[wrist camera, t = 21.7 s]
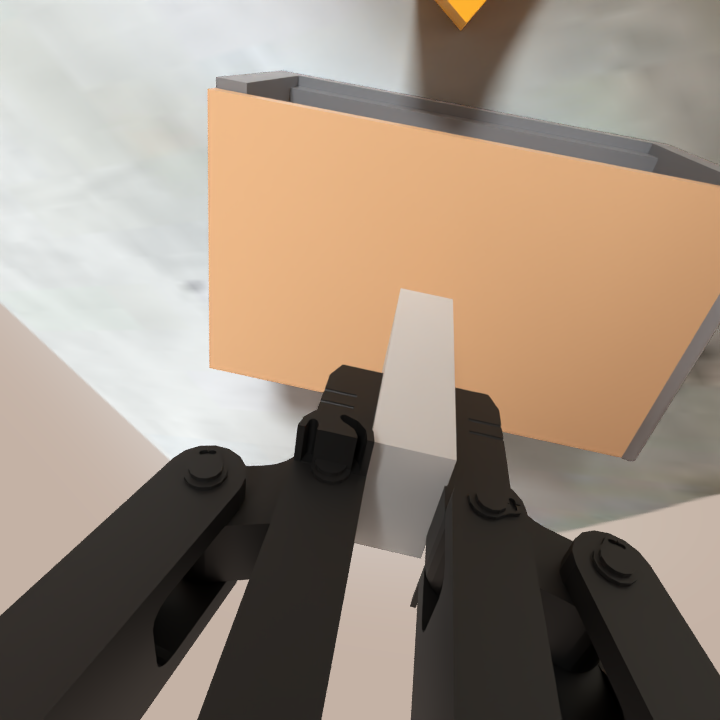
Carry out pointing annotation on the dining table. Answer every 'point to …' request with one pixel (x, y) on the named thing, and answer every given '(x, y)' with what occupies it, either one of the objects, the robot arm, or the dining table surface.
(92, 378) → the dining table surface
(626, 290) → the tan rectangular panel
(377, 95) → the housing
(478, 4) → the pipe clamp
